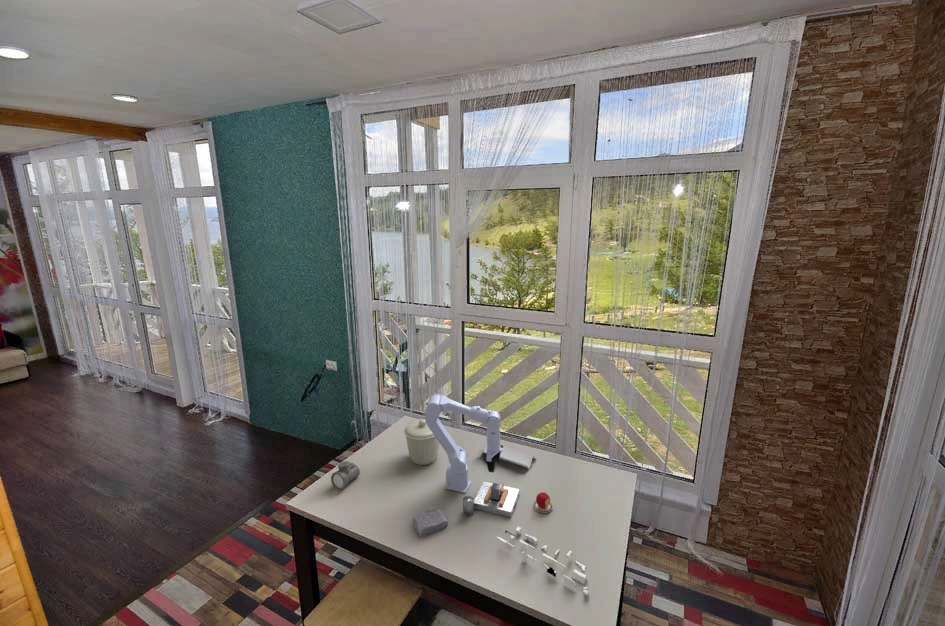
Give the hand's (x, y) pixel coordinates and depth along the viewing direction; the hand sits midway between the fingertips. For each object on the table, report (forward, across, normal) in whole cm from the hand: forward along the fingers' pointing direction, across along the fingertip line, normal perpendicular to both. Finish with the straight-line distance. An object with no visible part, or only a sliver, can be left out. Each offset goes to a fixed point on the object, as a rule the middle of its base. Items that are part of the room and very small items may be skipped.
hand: (493, 466), depth 177 cm
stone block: (+10, -29, +18) cm, 35 cm away
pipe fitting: (+10, -18, +64) cm, 67 cm away
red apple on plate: (+11, -5, -22) cm, 26 cm away
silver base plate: (+10, -8, -4) cm, 14 cm away
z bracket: (+11, +22, 0) cm, 25 cm away
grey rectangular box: (+10, -9, -4) cm, 14 cm away
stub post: (+10, -18, +6) cm, 21 cm away
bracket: (+8, -7, -4) cm, 11 cm away
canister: (+10, +9, +38) cm, 41 cm away
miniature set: (+11, -30, -28) cm, 43 cm away
